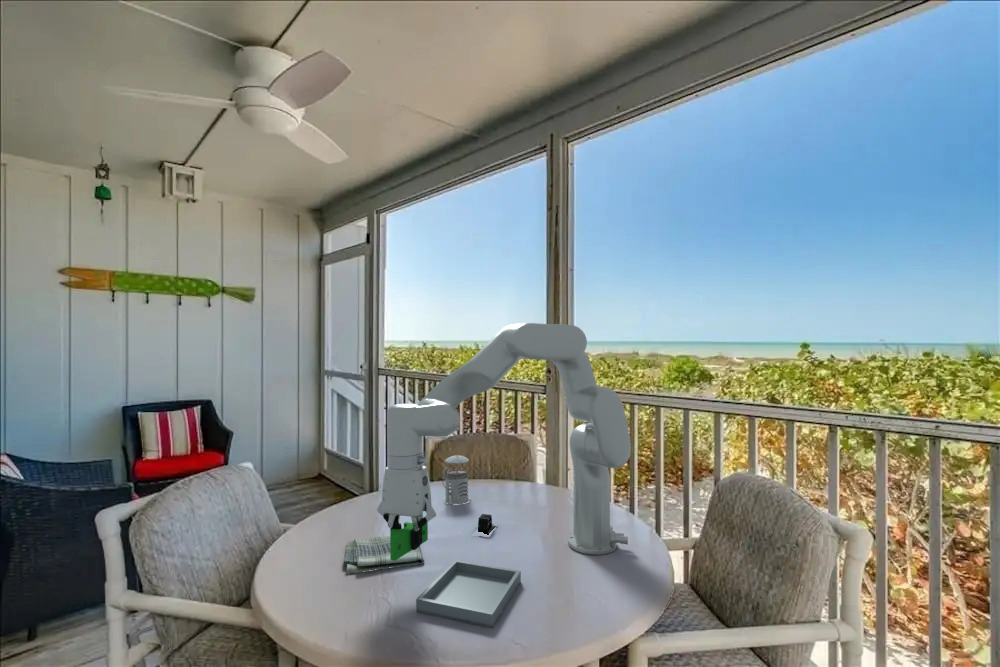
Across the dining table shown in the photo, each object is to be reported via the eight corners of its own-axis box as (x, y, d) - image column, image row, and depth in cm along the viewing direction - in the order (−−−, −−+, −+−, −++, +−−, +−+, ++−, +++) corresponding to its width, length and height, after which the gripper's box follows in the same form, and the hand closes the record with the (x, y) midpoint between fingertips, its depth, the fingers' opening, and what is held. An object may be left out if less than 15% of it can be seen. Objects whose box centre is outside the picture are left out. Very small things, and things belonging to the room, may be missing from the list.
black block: (490, 543, 125) (490, 525, 125) (465, 539, 127) (465, 522, 127) (502, 526, 137) (502, 510, 137) (479, 523, 139) (479, 507, 139)
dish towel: (415, 538, 128) (415, 526, 129) (425, 566, 111) (425, 553, 111) (344, 546, 123) (344, 534, 123) (343, 578, 106) (343, 564, 106)
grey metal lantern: (476, 499, 160) (476, 426, 161) (456, 509, 150) (456, 431, 151) (454, 494, 165) (454, 423, 166) (432, 503, 155) (433, 428, 156)
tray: (520, 582, 103) (520, 570, 103) (492, 628, 86) (492, 614, 86) (455, 570, 108) (455, 559, 108) (416, 612, 91) (416, 599, 91)
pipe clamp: (414, 537, 106) (414, 517, 106) (427, 540, 104) (427, 520, 105) (380, 557, 96) (380, 534, 96) (394, 561, 94) (394, 538, 95)
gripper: (447, 459, 102) (449, 543, 101) (382, 454, 107) (383, 534, 107) (431, 468, 95) (432, 558, 94) (362, 462, 100) (363, 548, 100)
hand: (406, 544), depth 101 cm, fingers closed on pipe clamp, 4 cm apart
